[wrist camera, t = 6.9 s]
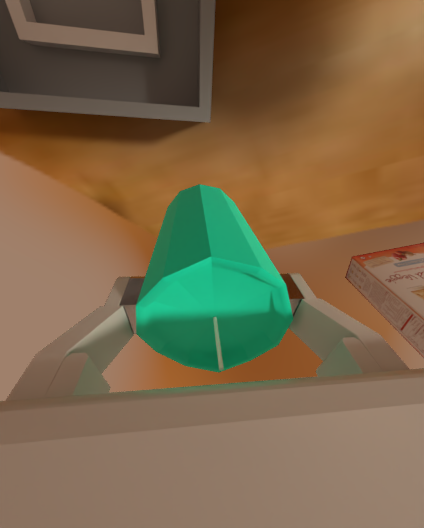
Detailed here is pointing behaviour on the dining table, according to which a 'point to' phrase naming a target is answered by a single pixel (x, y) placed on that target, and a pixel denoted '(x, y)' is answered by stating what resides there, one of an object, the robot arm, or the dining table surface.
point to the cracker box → (394, 288)
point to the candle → (210, 286)
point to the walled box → (108, 57)
